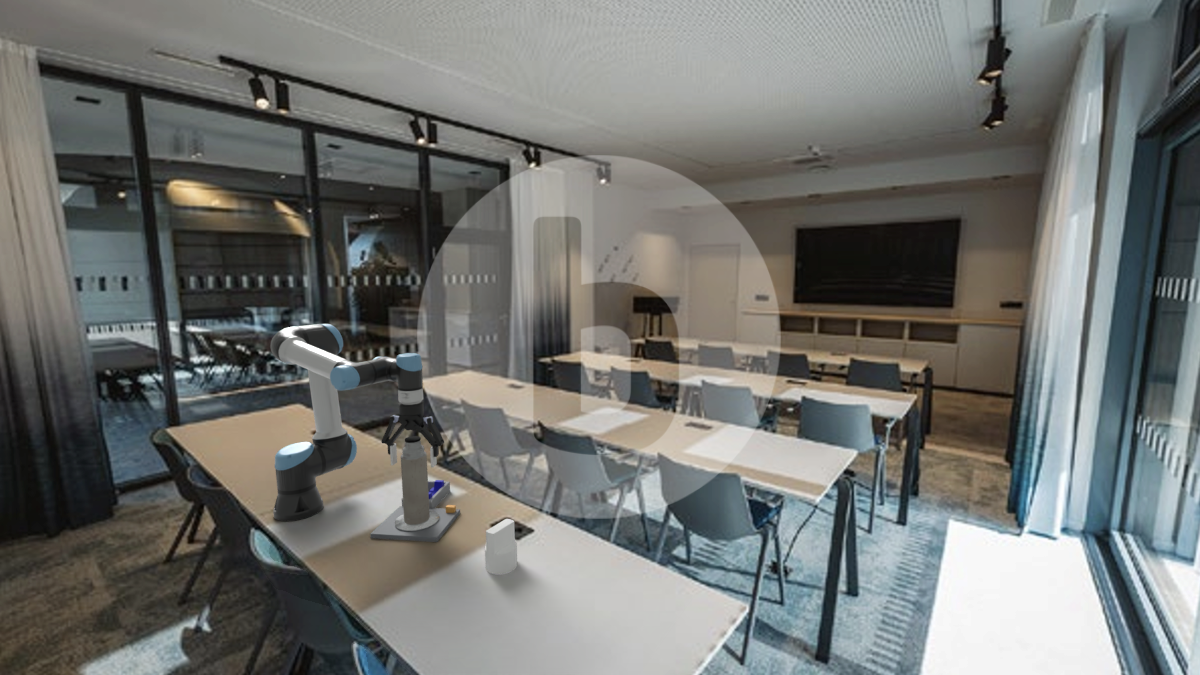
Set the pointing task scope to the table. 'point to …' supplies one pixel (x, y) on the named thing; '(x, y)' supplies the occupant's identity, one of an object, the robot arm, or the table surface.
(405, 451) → the thermos bottle
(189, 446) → the table surface
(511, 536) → the cylinder with rectangular tab
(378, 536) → the rosette base
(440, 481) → the blue stepped block
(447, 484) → the desk organizer
